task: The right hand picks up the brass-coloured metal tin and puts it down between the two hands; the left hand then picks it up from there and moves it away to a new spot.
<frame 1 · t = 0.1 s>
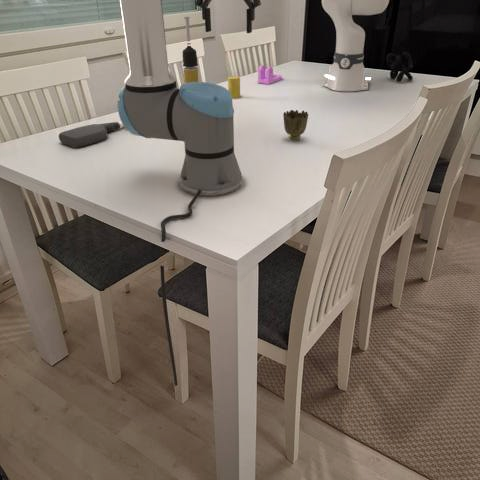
left hand: (228, 32, 139), 28 cm above the table, tool pointing down, fingers open, 13 cm apart
tin: (234, 96, 181), on the table
squiggle: (399, 80, 200), on the table
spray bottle: (101, 135, 143), on the table
long nozzle bottle: (193, 102, 174), on the table
cup: (294, 139, 136), on the table
bracket: (271, 81, 204), on the table
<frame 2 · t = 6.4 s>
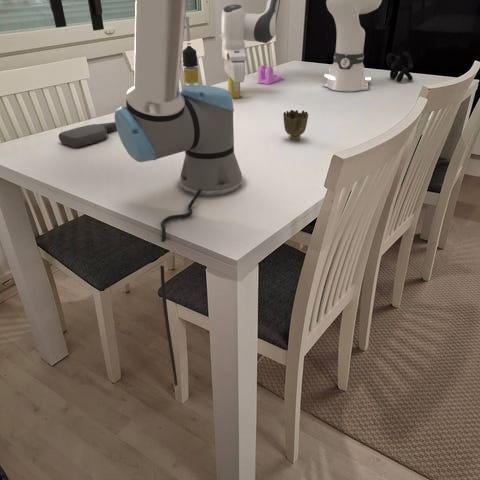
left hand: (79, 28, 109), 33 cm above the table, tool pointing down, fingers open, 13 cm apart
right hand: (234, 89, 180), 3 cm above the table, tool pointing down, fingers closed on tin, 5 cm apart
tin: (234, 96, 181), on the table, touching right hand
everything else where it was.
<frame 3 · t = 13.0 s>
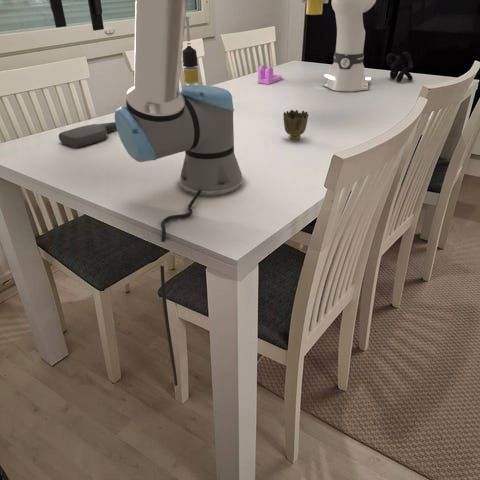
left hand: (79, 28, 109), 33 cm above the table, tool pointing down, fingers open, 13 cm apart
right hand: (315, 2, 132), 36 cm above the table, tool pointing down, fingers closed on tin, 5 cm apart
tin: (314, 13, 133), point 33 cm above the table, touching right hand
everything else where it was.
when the right hand's fingers open (4 cm above the table, at t = 19.7 s): tin drops 2 cm, on the table.
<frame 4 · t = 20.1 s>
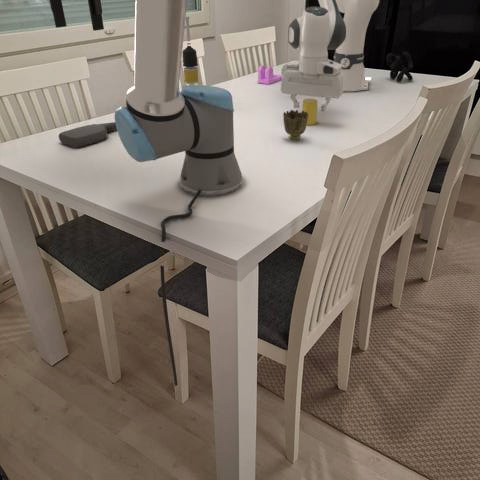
left hand: (79, 28, 109), 33 cm above the table, tool pointing down, fingers open, 13 cm apart
right hand: (309, 109, 148), 5 cm above the table, tool pointing down, fingers open, 8 cm apart
tin: (308, 123, 150), on the table
everything else where it was.
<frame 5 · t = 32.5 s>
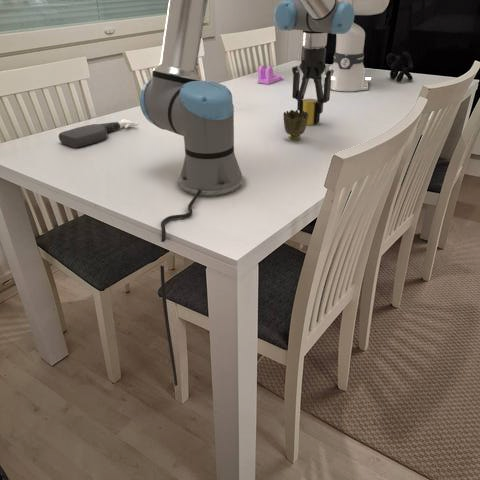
left hand: (309, 121, 150), 1 cm above the table, tool pointing down, fingers closed on tin, 5 cm apart
tin: (308, 123, 150), on the table, touching left hand
everything else where it was.
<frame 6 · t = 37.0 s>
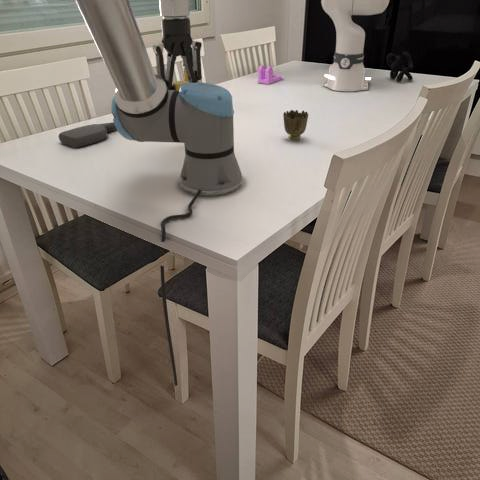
left hand: (182, 107, 127), 11 cm above the table, tool pointing down, fingers closed on tin, 5 cm apart
tin: (182, 109, 128), point 11 cm above the table, touching left hand
everything else where it was.
when the left hand's fingers open (2 cm above the table, at t = 41.5 s): tin drops 2 cm, on the table.
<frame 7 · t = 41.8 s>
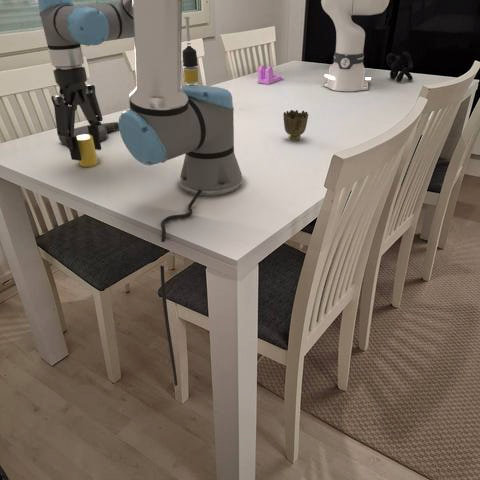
left hand: (87, 154, 122), 3 cm above the table, tool pointing down, fingers open, 8 cm apart
tin: (88, 163, 123), on the table
everything else where it was.
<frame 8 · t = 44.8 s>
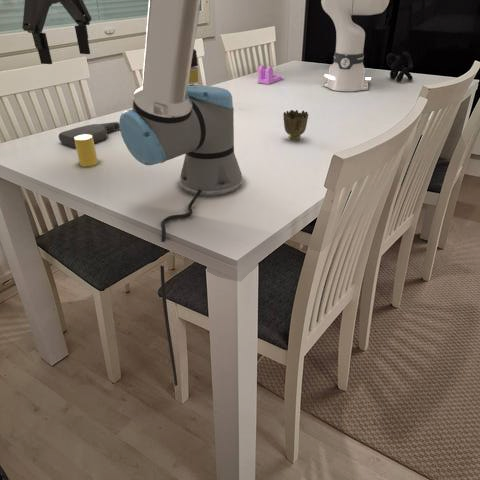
left hand: (66, 58, 109), 27 cm above the table, tool pointing down, fingers open, 13 cm apart
nothing on the table moved.
at the end: tin inside the target area (0.0 cm from its centre), on the table; tin tilted 0°; the two hands never held the tin at the same time; the left hand is holding nothing; the right hand is holding nothing; tin at rest at the end (0.0 cm/s) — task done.
